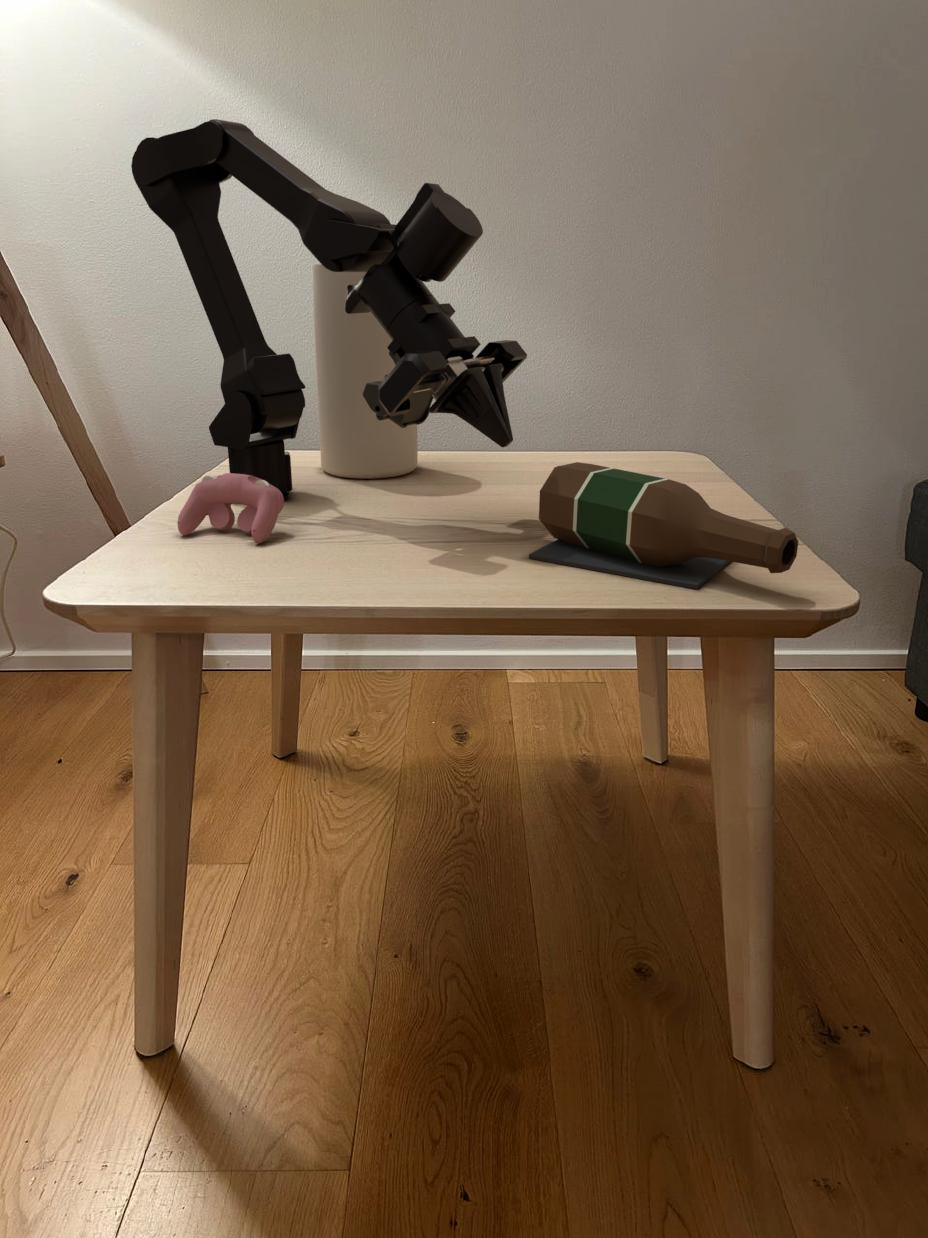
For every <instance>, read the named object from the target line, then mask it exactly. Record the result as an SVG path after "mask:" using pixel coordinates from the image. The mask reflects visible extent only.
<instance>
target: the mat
mask: <svg viewBox="0 0 928 1238" xmlns="http://www.w3.org/2000/svg"><path fill="white" fill-rule="evenodd" d="M528 559H530V560H536V561H541V562H546V563H552V564H556V565H557V564H558V565H561V566H562V565H563V566H568V567H573V568H579V569H583V570H584V569H585V570H590V571H595V572H601V573H606V574H611V575H617V576H622V577H627V578H628V577H629V578H633V579H638V580H644V581H650V582H655V583H660V584H666V585H671V586H677V587H681V588H687V589H692V590H698V589H699V588H701V587H702V586H703V585H704V584H705V583H706V582H708V581H709V580H710V579H711V578H713V577H714V576H715V575H716V574H718V572H720V571H721V570H722V569H724V568H725V567H726V566H727V565H728V564H729V563H732V562H731V561H725V560H720V559H714V558H702V557H696V558H693V559H691V560H688V561H685V562H682V563H679V564H676V565H668V566H654V565H649V564H643V563H639V562H636V561H632V560H629V559H625V558H621V557H618V556H614V555H611V554H607V553H603V552H600V551H596V550H592V549H589V548H585V547H582V546H578V545H574V544H571V543H567V542H564V541H562V540H559V539H556V540H554V541H552V542H550V543H548V544H546V545H544V546H543V547H540V548H539V549H537V550H535V551H533V552H530V553H529V554H528Z"/></svg>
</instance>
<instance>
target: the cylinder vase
mask: <svg viewBox="0 0 928 1238" xmlns="http://www.w3.org/2000/svg"><path fill="white" fill-rule="evenodd" d="M310 266H311V267H310V268H311V270H310V271H311V287H312V288H311V289H312V307H313V328H314V348H315V368H316V369H315V370H316V388H317V406H318V407H317V409H318V410H317V411H318V412H317V413H318V430H319V431H318V432H319V449H320V451H319V452H320V467H321V468H322V470H323V471H324V472H326V473H327V474H330V475H332V476H335V477H341V478H346V479H364V480H367V479H368V480H369V479H370V480H371V479H387V478H394V477H399V476H404V475H408V474H410V473H412V472H413V471H415V469H416V468H417V466H418V463H419V462H418V461H419V460H418V458H419V457H418V456H419V455H418V425H417V424H413V425H409V426H407V427H406V428H401V427H400V426H398V425H397V424H395V423H394V422H392V421H391V420H390V419H386V420H381V421H380V420H378V419H377V417H376V413H375V412H373V411H372V410H371V409H370V407H369V405H368V404H367V402H366V400H365V399H364V397H363V392H364V389H365V386H366V384H367V383H370V382H376V381H383V380H384V379H385V375H387V374H389V373H390V372H391V370H392V369H393V368H394V367H395V363H394V361H393V359H392V358H391V357H390V355H389V350H388V348H387V347H388V346H389V344H390V343H391V342H392V339H391V338H390V337H389V335H388V334H387V333H386V331H385V330H384V329H383V327H382V326H381V325H380V323H379V322H378V321H377V319H376V318H375V317H374V315H373V314H372V313H371V311H370V312H369V313H355V314H347V313H346V312H345V302H346V299H347V295H348V291H347V286H348V285H354V284H358V283H359V282H360V281H361V279H362V278H363V277H364V275H365V274H366V273H367V272H333V271H330V270H328V269H326V268H325V267H324V266H323V265H322V264H321V263H318V264H317V263H316V264H310Z"/></svg>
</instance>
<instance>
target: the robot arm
mask: <svg viewBox="0 0 928 1238" xmlns="http://www.w3.org/2000/svg"><path fill="white" fill-rule="evenodd" d="M130 168H131V174H132V178H133V180H134V182H135V185H136V187H137V188H138V190H139V192H140V194H141V196H142V197H143V199H144V201H145V203H146V205H147V206H148V208H149V210H150V211H151V212H152V213H153V214H155V216H156V217H158V218H159V220H161V221H162V223H164V224H165V225H166V226H167V227H168V228H169V229H170V230H171V231H172V232H173V235H174V237H175V240H176V241H177V244H178V246H179V249H180V251H181V254H182V257H183V259H184V261H185V264H186V267H187V269H188V272H189V275H190V277H191V279H192V281H193V284H194V286H195V289H196V292H197V294H198V297H199V300H200V302H201V304H202V307H203V309H204V313H205V315H206V317H207V319H208V320H207V321H208V322H209V325H210V328H211V330H212V332H213V334H214V337H215V340H216V342H217V345H218V348H219V350H220V352H221V355H222V358H223V359H222V360H223V363H222V370H221V371H222V372H221V377H220V386H219V387H220V391H221V394H222V398H223V402H224V404H223V406H222V407H221V409H220V410H219V411H218V412H217V414H216V416H215V417H214V418H213V420H212V421H211V423H210V424H209V425H208V431H209V433H210V437H211V439H212V442H213V445H214V446H216V447H217V446H218V447H222V448H227V456H228V469H229V473H234V474H245V475H251V476H254V477H257V478H259V479H262V480H265V481H266V482H268V483H269V484H271V485H272V486H274V487H276V488H277V489H279V490H280V491H281V493H282V495H283V498H284V500H289V499H290V492H292V491H293V478H292V477H293V476H292V460H291V454H290V452H289V450H288V451H286V447H285V441H284V440H292V439H293V440H294V439H296V437H297V434H298V429H299V425H300V421H301V418H302V416H303V412H304V408H306V398H305V394H304V391H303V390H304V389H306V385H305V383H304V382H303V381H302V380H301V378H300V376H299V373H298V370H297V366H296V362H295V359H294V357H293V356H292V354H291V353H280V354H278V353H277V352H275V351H274V350H273V349H272V348H271V347H270V346H269V344H268V343H267V341H266V339H265V336H264V334H263V331H262V329H261V326H260V323H259V321H258V319H257V315H256V313H255V311H254V308H253V306H252V302H251V301H250V298H249V295H248V293H247V291H246V287H245V285H244V282H243V280H242V278H241V274H240V272H239V270H238V268H237V267H238V266H237V264H236V262H235V259H234V257H233V254H232V252H231V249H230V246H229V243H228V242H227V239H226V235H225V233H224V231H223V229H222V225H221V224H220V221H219V220H220V219H219V212H220V205H221V199H222V198H221V197H222V190H221V189H222V188H221V186H220V185H221V184H222V183H224V182H227V181H229V180H230V179H231V178H232V177H233V178H234V179H235V180H237V181H238V182H239V183H241V184H242V185H244V186H245V188H247V189H249V190H250V191H251V192H252V193H254V194H255V195H256V196H257V197H259V198H260V199H261V200H263V201H264V202H265V203H266V204H268V205H269V206H270V207H271V208H272V209H274V210H276V211H277V212H278V213H279V214H280V215H282V216H283V217H284V218H285V219H287V220H288V221H290V222H291V223H292V224H293V226H294V227H295V228H296V229H297V231H298V234H299V237H300V239H301V243H302V244H303V246H305V248H306V249H307V250H308V251H309V252H310V254H312V255H313V257H314V258H315V259H316V260H317V261H318V263H319V264H322V265H323V266H324V267H325V268H326V269H328V270H330V271H333V272H367V273H366V274H365V275H364V277H363V278H362V279H361V281H360V282H359V283H358V284H354V285H348V286H347V291H348V295H347V299H346V302H345V312H346V313H347V314H355V313H369V312H370V311H371V313H372V314H373V315H374V317H375V318H376V319H377V321H378V322H379V323H380V325H381V326H382V327H383V329H384V330H385V331H386V333H387V334H388V335H389V337H390V338H391V339H392V342H391V343H390V344H389V346H388V347H387V348H388V350H389V355H390V357H391V358H392V359H393V361H394V363H395V367H394V368H393V369H392V370H391V372H390V373H389V374H387V375H385V379H384V380H383V381H376V382H370V383H367V384H366V386H365V389H364V392H363V397H364V399H365V400H366V402H367V404H368V405H369V407H370V409H371V410H372V411H373V412H375V413H376V417H377V419H378V420H380V421H381V420H386V419H390V420H391V421H392V422H394V423H395V424H397V425H398V426H400V427H401V428H406V427H407V426H409V425H413V424H417V426H418V425H422V424H423V423H425V421H427V419H428V417H429V415H430V414H452V415H455V416H457V417H458V418H460V419H461V420H463V421H464V422H465V423H467V424H469V425H470V426H471V427H473V428H474V429H475V430H477V431H479V432H480V433H481V434H482V435H484V436H485V437H486V438H488V439H489V440H491V441H492V442H494V443H495V444H496V445H498V446H499V447H500V448H507V447H509V445H511V444H512V442H514V436H513V431H512V426H511V422H510V417H509V412H508V406H507V401H506V397H505V396H506V395H505V389H504V382H505V381H506V380H507V379H508V378H509V377H510V376H511V375H512V374H513V373H514V372H515V371H516V370H517V369H518V368H519V367H520V366H521V364H522V363H523V362H525V360H526V359H527V358H528V353H527V352H526V351H525V350H524V349H523V347H522V346H521V345H520V343H519V342H518V341H517V340H510V339H509V340H508V339H504V340H497V341H488V342H487V344H486V345H485V346H484V347H483V348H482V349H481V350H480V352H479V353H477V355H476V356H475V355H474V352H475V351H477V349H478V348H479V347H480V346H481V345H482V344H481V342H480V341H479V340H478V338H476V336H475V335H472V336H465V335H464V334H463V332H462V331H461V330H460V328H459V327H458V326H457V324H456V323H455V321H453V319H452V318H451V317H452V316H453V315H454V314H455V313H456V310H455V309H454V307H453V306H452V305H451V303H450V302H449V303H440V302H439V301H438V300H437V298H436V297H435V296H434V294H433V293H432V292H431V290H430V289H429V288H428V287H427V286H426V284H425V283H429V282H431V281H434V282H438V283H442V282H444V281H446V280H447V279H448V278H449V276H450V275H451V274H452V272H453V271H454V270H455V269H456V268H457V267H458V266H459V264H460V263H461V261H462V260H463V259H464V258H465V257H466V256H467V254H468V253H469V252H470V251H471V249H472V248H473V247H474V246H475V244H477V242H478V241H479V240H480V238H481V237H482V236H483V233H484V229H483V226H482V224H481V222H480V220H479V219H478V217H477V215H476V214H475V213H474V211H473V210H472V209H471V208H469V207H467V206H465V205H464V204H463V203H461V202H460V201H459V199H456V197H454V196H452V195H451V194H449V193H447V192H445V190H443V188H442V187H441V185H440V184H438V183H432V182H424V183H423V185H422V186H421V187H420V189H419V190H418V192H417V193H416V195H415V198H414V199H413V201H412V203H411V204H410V205H409V207H408V209H406V211H405V212H404V214H403V216H401V218H400V220H398V222H397V223H396V224H393V223H391V222H390V221H391V220H389V219H388V218H387V217H386V215H385V214H384V213H382V212H380V211H379V210H376V209H375V208H372V207H370V206H368V205H365V204H364V203H362V202H359V201H357V200H354V199H351V198H348V197H346V196H342V195H340V194H336V193H334V192H332V191H331V190H329V189H326V188H325V187H323V186H322V185H320V184H319V183H318V182H317V181H315V180H314V179H312V177H310V176H309V175H307V174H306V173H305V172H304V171H302V170H301V169H300V168H299V167H297V166H296V165H294V164H293V163H292V162H291V161H289V160H287V159H286V158H285V157H284V156H283V155H281V154H280V153H279V152H278V151H276V150H275V149H274V148H272V147H270V146H269V145H268V144H267V143H265V142H264V141H263V140H261V139H260V138H259V137H258V136H256V135H255V133H254V132H253V131H252V130H251V128H250V127H248V126H247V125H245V124H243V123H242V122H236V121H229V120H224V119H218V118H215V119H214V118H213V119H212V118H211V119H210V120H208V121H205V122H202V123H201V124H199V125H196V126H195V127H191V128H188V129H184V130H180V131H176V132H172V133H168V134H165V135H161V136H160V137H153V136H152V137H150V136H149V137H145V138H143V139H142V140H141V141H140V142H139V143H138V145H137V147H136V149H135V151H134V152H133V155H132V157H131V167H130ZM474 356H475V357H474ZM433 400H434V402H433Z"/></svg>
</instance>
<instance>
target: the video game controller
mask: <svg viewBox="0 0 928 1238" xmlns="http://www.w3.org/2000/svg"><path fill="white" fill-rule="evenodd" d="M284 503H285V499H284V498H283V495H282V493H281V491H280V490H279V489H277V488H276V487H274V486H272V485H271V484H269V483H268V482H266V481H265V480H262V479H259V478H257V477H254V476H251V475H245V474H234V473H230V472H225V473H223V474H221V475H220V474H219V475H213V476H212V475H204V476H203V477H202V478H201V481H199V482H197V483H195V486H194V487H193V488H192V491H191V492H190V495H189V496H188V498H187V500H186V502H185V504H183V507H182V508H181V510H180V511H179V514H178V518H177V523H176V524H177V531H178V532H179V534H180V535H181V536H188V535H190V534H192V533H193V532H194V531H196V529H198V527H199V526H200V525H201V523H203V521H204V520H205V519H206V517H207V516H208V519H209V523H210V524H211V526H212V528H214V529H217V530H219V531H223V532H224V531H229V530H230V529H232V527H233V526H234V525H235V522H236V526H237V527H238V528H239V529H240V530H241V531H242V532H244V533H246V534H250V535H251V538H252V540H253V542H254V543H255V544H258V545H260V544H262V543H264V542H265V541H266V540H267V539H268V538H269V537H270V536H271V534H272V533H273V530H274V529H275V526H276V524H277V520H278V517H279V514H280V513H281V512H282V510H283V508H284ZM232 505H242V506H246V507H244V508H243V509H242V510H241V511H240V512H239V514H238V516H237V519H236V515H235V513H234V511H233V508H232Z"/></svg>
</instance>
